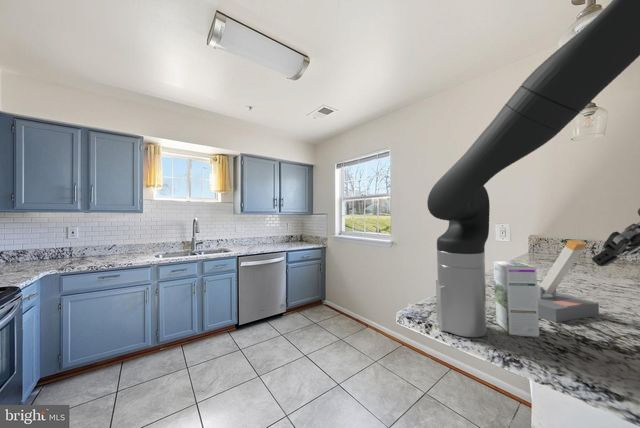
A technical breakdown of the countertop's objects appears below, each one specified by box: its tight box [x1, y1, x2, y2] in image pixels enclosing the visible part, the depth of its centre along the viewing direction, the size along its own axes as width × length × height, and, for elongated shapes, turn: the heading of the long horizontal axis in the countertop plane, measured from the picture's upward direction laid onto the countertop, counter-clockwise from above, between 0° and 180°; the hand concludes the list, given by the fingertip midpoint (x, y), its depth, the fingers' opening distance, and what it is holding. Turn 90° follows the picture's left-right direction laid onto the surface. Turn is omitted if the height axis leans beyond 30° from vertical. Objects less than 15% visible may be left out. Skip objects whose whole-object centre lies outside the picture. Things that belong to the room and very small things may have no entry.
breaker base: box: [537, 285, 600, 323], centre depth 63 cm, size 14×14×6 cm
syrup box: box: [493, 260, 540, 338], centre depth 52 cm, size 6×6×14 cm
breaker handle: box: [539, 239, 588, 294], centre depth 60 cm, size 2×3×16 cm, turn 103°
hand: (598, 262), depth 53 cm, fingers closed
